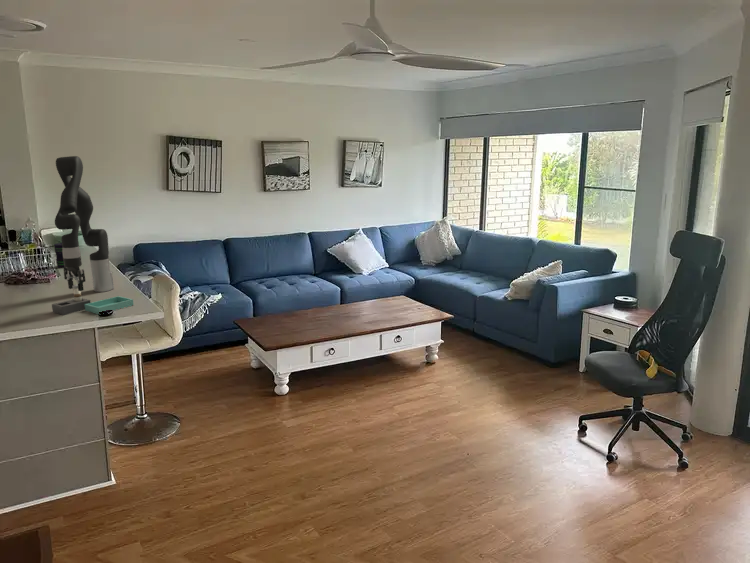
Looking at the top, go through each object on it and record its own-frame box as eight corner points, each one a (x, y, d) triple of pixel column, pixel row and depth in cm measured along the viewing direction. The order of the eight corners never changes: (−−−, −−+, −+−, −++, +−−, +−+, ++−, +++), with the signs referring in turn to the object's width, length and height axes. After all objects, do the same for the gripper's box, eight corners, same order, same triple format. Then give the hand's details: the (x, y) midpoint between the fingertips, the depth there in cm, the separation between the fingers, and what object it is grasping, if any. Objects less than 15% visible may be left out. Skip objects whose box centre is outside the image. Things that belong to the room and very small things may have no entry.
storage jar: (57, 266, 391) (54, 243, 387) (74, 264, 395) (71, 242, 391) (56, 268, 382) (53, 245, 378) (73, 267, 386) (70, 244, 382)
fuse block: (80, 305, 296) (79, 297, 296) (91, 308, 292) (90, 300, 291) (52, 312, 285) (51, 304, 284) (63, 315, 280) (61, 306, 279)
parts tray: (119, 302, 302) (118, 296, 301) (133, 305, 295) (133, 299, 295) (85, 310, 287) (84, 304, 287) (99, 314, 281) (98, 308, 280)
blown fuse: (80, 303, 293) (77, 284, 291) (84, 305, 291) (81, 284, 289) (73, 305, 290) (70, 285, 288) (77, 306, 289) (74, 286, 286)
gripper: (87, 256, 284) (91, 289, 288) (71, 253, 292) (75, 286, 296) (72, 259, 278) (76, 293, 282) (56, 256, 286) (60, 289, 290)
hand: (76, 289), depth 289 cm, fingers open, 8 cm apart
